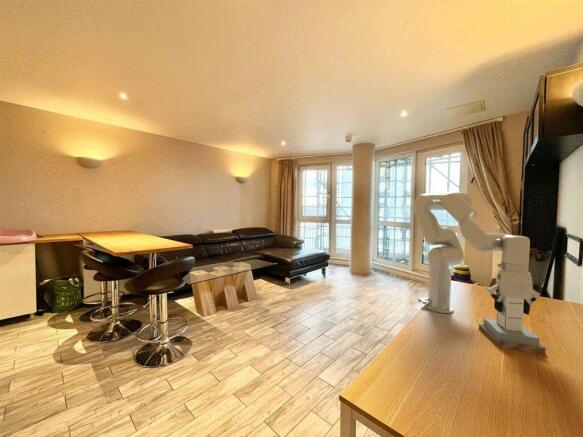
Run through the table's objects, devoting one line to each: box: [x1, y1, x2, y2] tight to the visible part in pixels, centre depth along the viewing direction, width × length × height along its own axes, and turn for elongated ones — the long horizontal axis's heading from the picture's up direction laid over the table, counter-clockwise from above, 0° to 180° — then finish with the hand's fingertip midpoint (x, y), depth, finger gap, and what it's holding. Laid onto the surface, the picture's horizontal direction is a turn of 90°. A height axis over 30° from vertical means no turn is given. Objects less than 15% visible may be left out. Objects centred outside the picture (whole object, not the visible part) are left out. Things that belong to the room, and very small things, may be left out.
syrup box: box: [496, 296, 524, 331], centre depth 92 cm, size 6×6×14 cm
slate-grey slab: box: [483, 317, 541, 346], centre depth 92 cm, size 12×12×3 cm
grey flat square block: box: [478, 323, 547, 355], centre depth 92 cm, size 14×14×3 cm
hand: (511, 311), depth 92 cm, fingers open, 8 cm apart
